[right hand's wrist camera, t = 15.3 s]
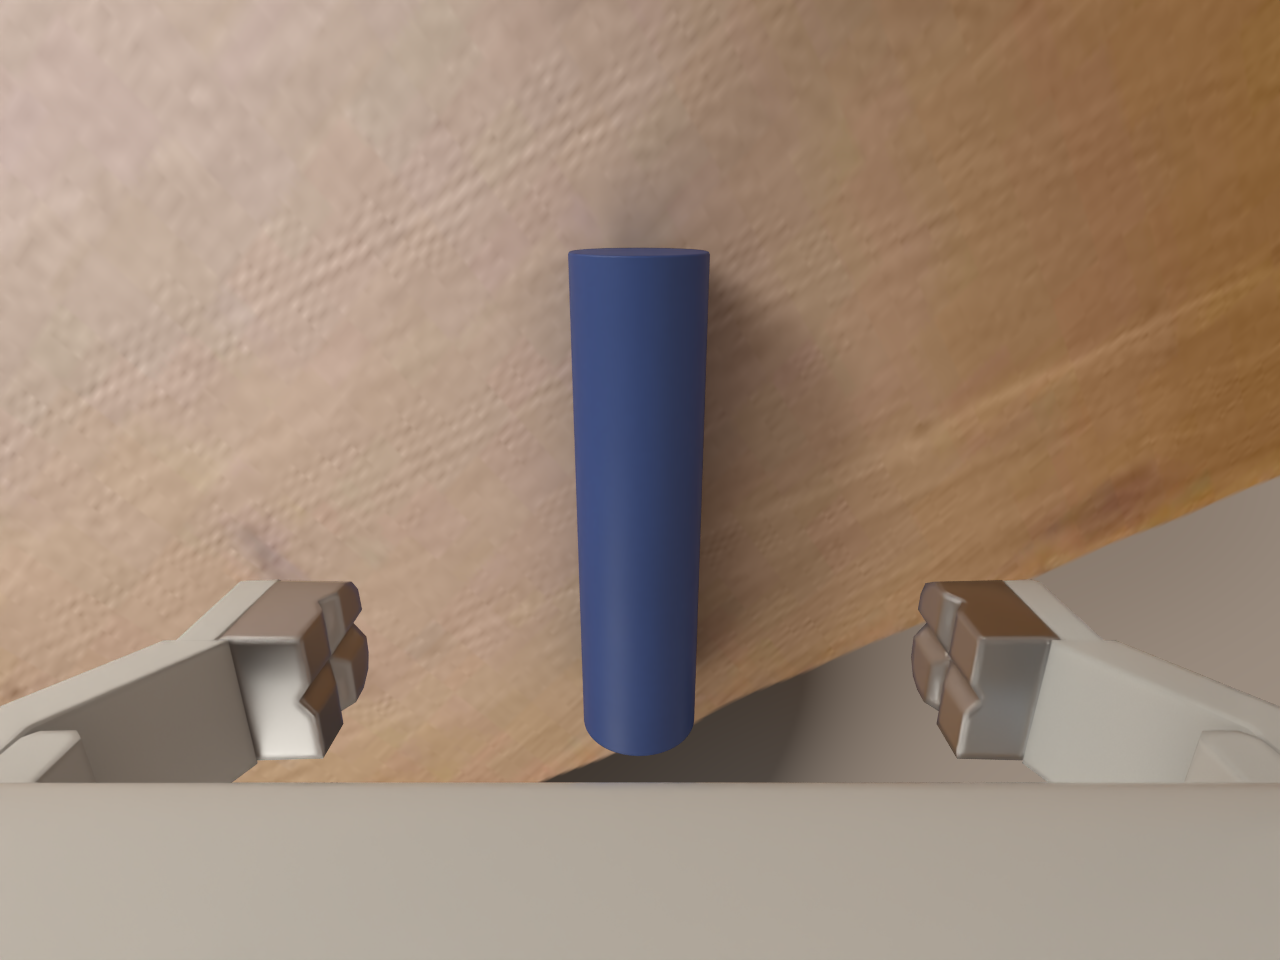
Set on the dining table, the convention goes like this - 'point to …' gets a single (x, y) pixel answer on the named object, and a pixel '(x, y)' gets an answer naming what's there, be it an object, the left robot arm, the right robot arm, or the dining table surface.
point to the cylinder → (639, 487)
